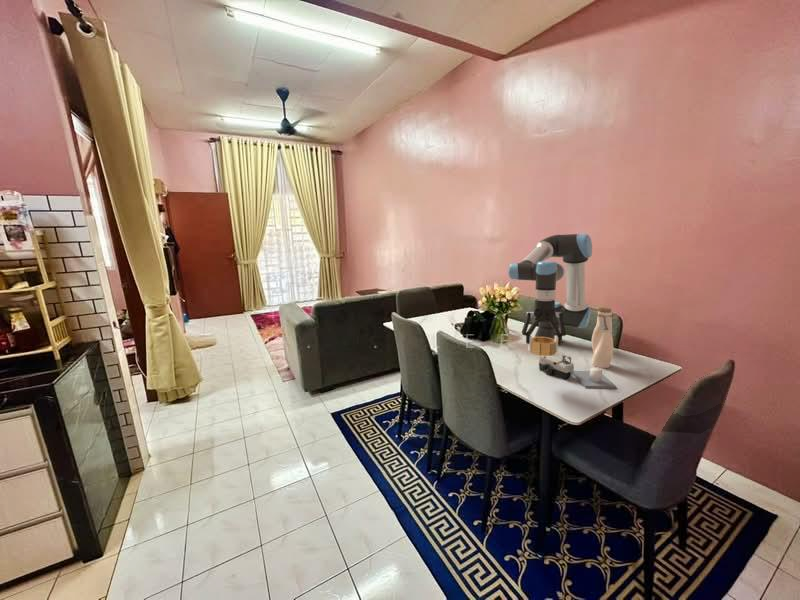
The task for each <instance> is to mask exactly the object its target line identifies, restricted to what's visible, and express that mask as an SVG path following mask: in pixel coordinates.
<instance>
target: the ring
mask: <svg viewBox="0 0 800 600" xmlns="http://www.w3.org/2000/svg"><path fill="white" fill-rule="evenodd" d="M530 353H531V354H533V355H536V356H553V355H555V354H556V341H555V340H554V339H552V338H548V337H535V336H533V337H532V344H531V352H530Z"/></svg>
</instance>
